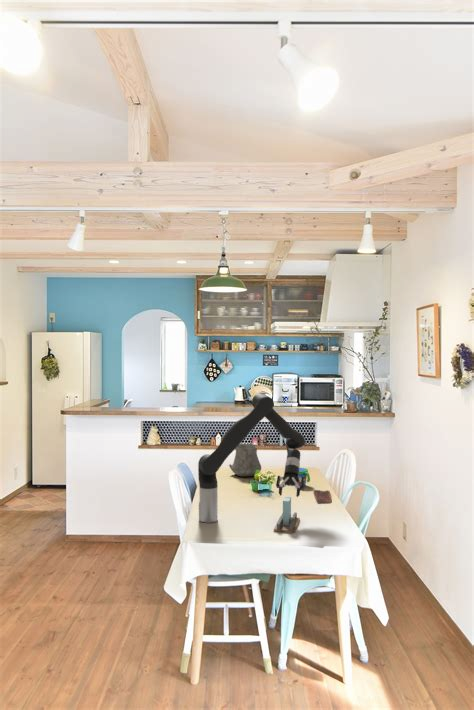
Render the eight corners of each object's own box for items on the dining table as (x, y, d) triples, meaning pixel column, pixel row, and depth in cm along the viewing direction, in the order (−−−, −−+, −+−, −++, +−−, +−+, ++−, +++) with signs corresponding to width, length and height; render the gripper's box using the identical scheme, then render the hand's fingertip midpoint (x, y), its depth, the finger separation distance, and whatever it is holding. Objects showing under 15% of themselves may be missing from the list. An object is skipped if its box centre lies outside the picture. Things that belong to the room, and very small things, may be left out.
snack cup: (285, 483, 348) (285, 468, 348) (297, 481, 354) (297, 466, 354) (301, 489, 335) (301, 473, 335) (314, 486, 341) (314, 470, 341)
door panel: (282, 525, 266) (282, 500, 266) (285, 520, 273) (285, 497, 272) (288, 525, 265) (288, 501, 265) (291, 521, 272) (291, 497, 272)
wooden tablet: (333, 502, 305) (315, 499, 306) (332, 506, 305) (315, 503, 306) (329, 490, 331) (313, 487, 332) (329, 493, 331) (313, 491, 332)
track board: (273, 531, 260) (273, 523, 260) (280, 518, 280) (280, 511, 280) (294, 533, 258) (294, 525, 258) (299, 519, 277) (299, 512, 277)
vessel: (231, 470, 383) (231, 442, 383) (262, 471, 380) (262, 443, 380) (226, 478, 362) (226, 448, 361) (259, 479, 359) (259, 449, 358)
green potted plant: (254, 492, 329) (254, 473, 329) (248, 488, 337) (248, 470, 337) (271, 490, 333) (271, 471, 333) (265, 486, 342) (265, 468, 341)
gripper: (278, 463, 284) (274, 490, 273) (305, 464, 280) (302, 492, 269) (279, 470, 289) (275, 498, 278) (306, 472, 286) (303, 500, 275)
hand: (288, 495), depth 274 cm, fingers open, 8 cm apart
